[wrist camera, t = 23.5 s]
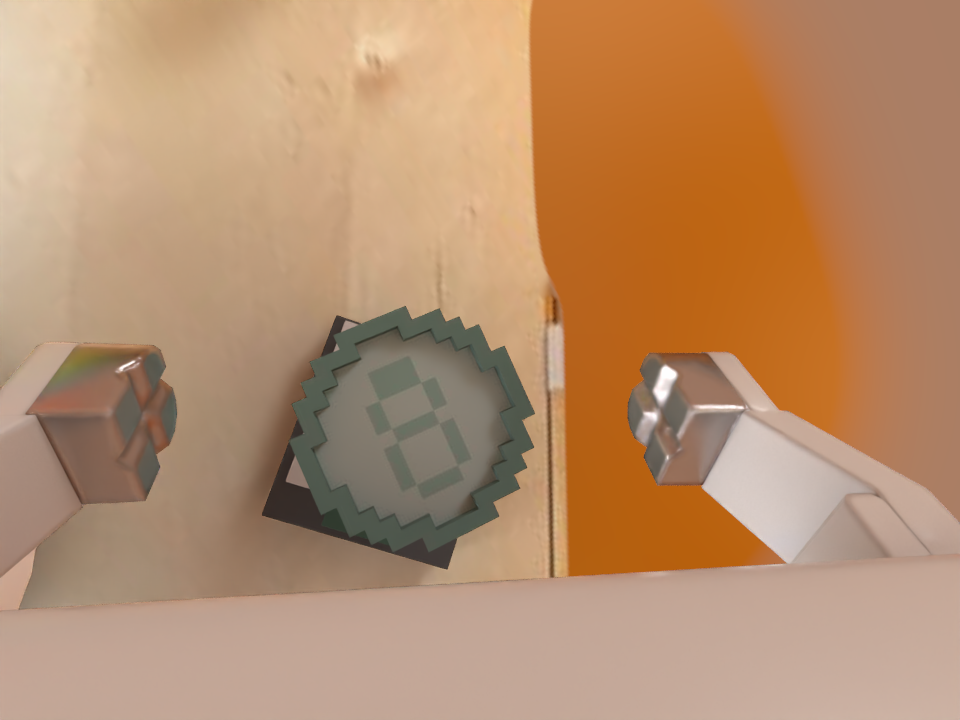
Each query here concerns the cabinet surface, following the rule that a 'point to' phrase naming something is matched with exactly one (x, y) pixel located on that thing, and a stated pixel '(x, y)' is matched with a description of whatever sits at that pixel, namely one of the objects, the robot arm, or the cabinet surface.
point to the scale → (299, 508)
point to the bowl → (16, 583)
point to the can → (412, 429)
